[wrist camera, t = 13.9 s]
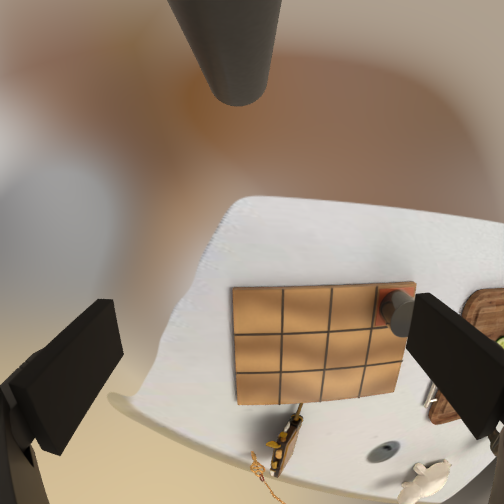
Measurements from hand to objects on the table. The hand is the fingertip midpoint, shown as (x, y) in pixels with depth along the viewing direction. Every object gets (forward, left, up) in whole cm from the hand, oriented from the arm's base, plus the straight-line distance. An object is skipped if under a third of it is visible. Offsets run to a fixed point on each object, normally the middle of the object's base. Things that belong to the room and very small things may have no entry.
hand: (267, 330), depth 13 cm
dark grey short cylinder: (+10, +18, -24) cm, 31 cm away
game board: (+16, +9, -25) cm, 31 cm away
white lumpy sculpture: (+54, +36, -25) cm, 70 cm away
